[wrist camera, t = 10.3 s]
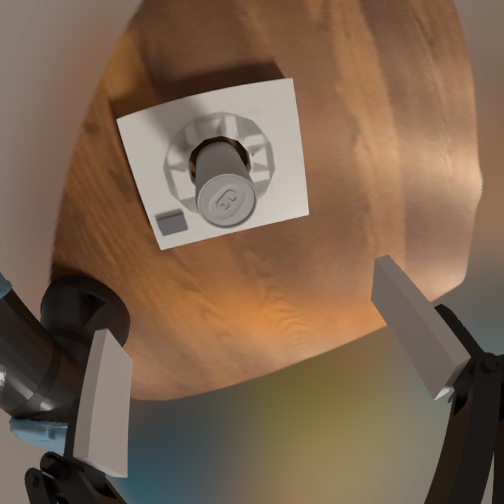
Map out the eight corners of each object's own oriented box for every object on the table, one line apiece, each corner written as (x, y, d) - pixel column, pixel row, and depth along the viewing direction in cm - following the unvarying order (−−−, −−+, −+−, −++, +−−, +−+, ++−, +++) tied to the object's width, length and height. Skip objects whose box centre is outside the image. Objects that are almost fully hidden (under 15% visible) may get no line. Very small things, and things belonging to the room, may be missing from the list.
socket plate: (162, 239, 36) (160, 252, 33) (122, 116, 27) (114, 120, 24) (302, 206, 36) (310, 216, 34) (285, 78, 27) (294, 78, 25)
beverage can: (187, 164, 31) (182, 208, 21) (215, 131, 30) (223, 158, 20) (220, 188, 33) (231, 241, 24) (247, 157, 32) (272, 197, 22)
